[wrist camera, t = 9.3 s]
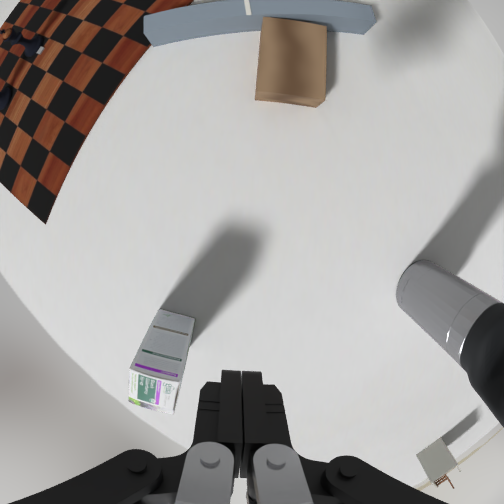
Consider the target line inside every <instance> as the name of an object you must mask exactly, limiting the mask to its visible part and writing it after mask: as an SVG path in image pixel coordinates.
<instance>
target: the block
mask: <svg viewBox="0 0 504 504" xmlns="http://www.w3.org/2000/svg"><path fill="white" fill-rule="evenodd" d="M326 58H327V26H323V25H318V24H312V23H307V22H301V21H295V20H288V19H280V18H272V17H263V21H262V27H261V35H260V46H259V58H258V69H257V81H256V93H255V100H259V101H270V102H279V103H288V104H295V105H302V106H309V107H315V108H316V107H318V106H319V105H320V104H321V103H322V102H324V101H325V94H326Z"/></svg>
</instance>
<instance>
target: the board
mask: <svg viewBox="0 0 504 504" xmlns="http://www.w3.org/2000/svg"><path fill="white" fill-rule="evenodd" d="M263 17H272V18H280V19H288V20H295V21H301V22H307V23H312V24H318V25H323V26H327V31H333V32H345V33H354V34H362V35H364V34H365V33H366V32H367V31H368V30H369V29H370V28H371V27H372V26H373V25H374V24H375V23H376V19H375V16H374V13H373V10H372V7H371V6H370V5H364V4H358V3H351V2H344V1H336V0H225V1H216V2H209V3H202V4H196V5H190V6H185V7H180V8H175V9H170V10H166V11H162V12H158V13H154V14H150V15H146V16H144V34H145V36H146V37H147V39H148V40H149V41H150V43H151V44H152V46H153V47H156V46H160V45H164V44H168V43H173V42H178V41H183V40H188V39H193V38H199V37H206V36H212V35H220V34H228V33H238V32H249V31H261V27H262V21H263Z"/></svg>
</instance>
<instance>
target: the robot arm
mask: <svg viewBox="0 0 504 504" xmlns="http://www.w3.org/2000/svg"><path fill="white" fill-rule="evenodd" d="M396 297H397V302H398V305H399V306H400V308H401V309H402V310H403V311H404V312H405V313H406V314H407V315H409V316H410V317H411V318H412V319H413V320H414V321H415V322H416V323H417V324H418V325H419V326H420V327H421V328H422V329H423V330H424V331H425V332H426V333H427V334H429V335H430V336H431V337H432V338H433V339H434V340H435V341H436V342H437V343H438V344H439V345H440V346H441V347H442V348H443V349H444V350H445V351H446V352H447V353H448V354H449V355H450V356H451V357H452V358H453V359H454V360H455V361H456V362H457V363H458V364H459V365H460V366H461V367H462V368H463V369H464V370H465V371H466V372H467V374H468V378H469V381H470V383H471V385H472V387H473V388H474V390H475V391H476V392H477V393H478V395H479V396H480V397H481V398H482V400H483V401H484V402H485V404H486V405H487V406H488V408H489V409H490V410H491V412H492V413H493V414H494V416H495V417H496V418H497V420H498V421H499V422H500V423H501V425H502V426H503V427H504V303H502V302H500V301H499V300H497V299H495V298H494V297H492V296H491V295H489V294H487V293H485V292H484V291H482V290H480V289H479V288H477V287H475V286H474V285H472V284H470V283H468V282H467V281H465V280H463V279H461V278H460V277H458V276H456V275H454V274H453V273H451V272H449V271H447V270H446V269H444V268H442V267H440V266H438V265H436V264H435V263H433V262H431V261H428V260H422V261H418V262H416V263H414V264H412V265H411V266H410V267H409V268H408V269H407V270H406V271H405V272H404V274H403V275H402V277H401V279H400V281H399V283H398V286H397V292H396ZM239 467H240V478H247V493H246V498H247V504H448V503H446V502H443V501H441V500H438V499H436V498H434V497H432V496H429V495H427V494H425V493H423V492H421V491H419V490H417V489H414V488H412V487H410V486H408V485H406V484H404V483H402V482H400V481H399V480H397V479H395V478H393V477H391V476H389V475H387V474H385V473H384V472H382V471H380V470H378V469H376V468H375V467H373V466H371V465H369V464H368V463H366V462H364V461H362V460H361V459H359V458H357V457H354V456H339V457H336V458H334V459H333V460H331V461H330V462H329V463H326V462H319V461H313V460H309V459H306V458H304V457H302V456H300V455H299V454H298V453H297V452H295V450H294V449H293V447H292V445H291V440H290V435H289V430H288V425H287V420H286V414H285V409H284V406H283V399H282V394H281V392H280V391H279V390H278V389H277V387H276V386H275V385H263V381H262V373H261V372H256V371H242V375H241V371H233V370H222V376H221V383H219V382H207V383H206V384H205V385H204V386H203V387H202V389H201V390H200V396H199V403H198V411H197V417H196V424H195V431H194V439H193V443H192V445H191V447H190V448H189V449H188V450H187V451H186V452H185V453H183V454H181V455H178V456H174V457H168V458H156V457H155V456H154V455H153V454H151V453H150V452H147V451H145V450H139V449H132V450H127V451H125V452H123V453H121V454H119V455H117V456H116V457H114V458H112V459H110V460H108V461H106V462H104V463H102V464H100V465H98V466H96V467H95V468H92V469H90V470H88V471H86V472H84V473H82V474H80V475H78V476H76V477H74V478H72V479H69V480H67V481H65V482H63V483H61V484H58V485H56V486H54V487H51V488H49V489H46V490H44V491H41V492H39V493H36V494H34V495H31V496H29V497H26V498H23V499H21V500H18V501H15V502H12V503H9V504H230V497H231V495H232V493H233V487H234V478H238V475H239Z"/></svg>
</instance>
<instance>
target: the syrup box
mask: <svg viewBox="0 0 504 504" xmlns="http://www.w3.org/2000/svg"><path fill="white" fill-rule="evenodd" d="M194 323H195V318H192V317H188V316H184V315H181V314H177V313H173V312H169V311H165V310H162V309H159V310H158V312H157V314H156V316H155V317H154V319H153V321H152V323H151V325H150V327H149V329H148V331H147V333H146V335H145V337H144V339H143V341H142V343H141V345H140V347H139V349H138V352H137V354H136V356H135V358H134V360H133V362H132V364H131V366H130V374H129V399H128V401H129V402H131V403H133V404H136V405H139V406H141V407H144V408H147V409H151V410H155V411H159V412H164V413H170V414H174V412H175V407H176V403H177V399H178V395H179V391H180V387H181V382H182V378H183V373H184V369H185V365H186V360H187V356H188V351H189V347H190V342H191V338H192V333H193V328H194Z"/></svg>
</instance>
